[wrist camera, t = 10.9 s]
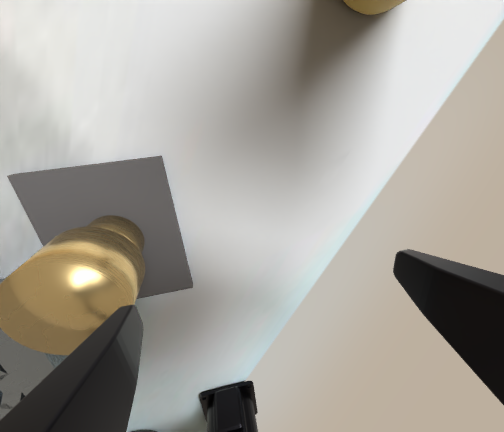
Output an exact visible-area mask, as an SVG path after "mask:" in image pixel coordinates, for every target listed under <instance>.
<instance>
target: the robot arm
mask: <svg viewBox="0 0 504 432" xmlns="http://www.w3.org/2000/svg"><path fill="white" fill-rule="evenodd" d="M393 273H394V275H395V277H396V279H397V280H398V281H399V283H400V284H401V285H402V287H403V288H404V289H405V291H406V292H407V294H408V295H409V296H410V297H411V299H412V300H413V302H414V303H415V304H416V306H417V307H418V308H419V310H420V311H421V312H422V313H423V315H424V316H425V317H426V318H427V319H428V321H430V323H431V324H432V325H433V326H434V327H435V328H436V329H437V331H438V332H439V333H440V334H441V335H442V336H443V337H444V339H445V340H446V341H447V342H448V343H449V344H450V345H451V346H452V348H453V349H454V350H455V351H456V352H457V353H458V354H459V355H460V357H461V358H462V359H463V360H464V361H465V362H466V363H467V365H468V366H469V367H470V368H471V369H472V370H473V371H474V372H475V374H477V376H478V377H479V378H480V379H481V380H482V381H483V383H484V384H485V385H486V386H487V387H488V388H489V389H490V390H491V392H492V393H493V394H494V395H495V396H496V397H497V398H498V399H499V401H500V402H501V403H502V404H503V405H504V275H501V274H497V273H493V272H490V271H487V270H483V269H479V268H476V267H472V266H468V265H465V264H461V263H458V262H454V261H450V260H447V259H443V258H439V257H436V256H432V255H428V254H425V253H421V252H417V251H414V250H410V249H407V250H403V251H399V252H397V254H396V257H395V263H394V268H393ZM142 337H143V324H142V321H141V318H140V316H139V313H138V310H137V308H136V306H135V305H127V306H122V307H120V308H118V309H117V310H116V311H115V312H114V313H113V314H112V315H111V316H110V317H109V318H108V319H107V320H105V321H104V322H103V323H102V324H101V325H100V326H99V327H98V328H97V329H96V330H95V331H94V332H93V333H92V334H91V335H90V336H89V337H87V338H86V339H85V340H84V341H83V342H82V343H81V344H80V345H79V346H78V347H77V348H76V349H75V350H74V351H73V352H72V353H71V354H69V355H68V356H67V357H66V358H65V359H64V360H63V361H62V362H61V363H60V364H59V365H58V366H57V367H56V368H55V369H54V370H53V371H52V372H50V373H49V374H48V375H47V376H46V377H45V378H44V379H43V380H42V381H41V382H40V383H39V384H38V385H37V386H36V387H35V388H34V389H32V390H31V391H30V392H29V393H28V394H27V395H26V396H25V397H24V398H23V399H22V400H21V401H20V402H19V403H18V404H17V405H16V406H14V407H13V408H12V409H11V410H10V411H9V412H8V413H7V414H6V415H5V416H4V417H3V418H2V419H1V420H0V432H126V430H127V425H128V421H129V417H130V412H131V408H132V403H133V399H134V394H135V390H136V385H137V378H138V371H139V362H140V354H141V345H142ZM200 401H201V404H202V408H203V411H204V414H205V418H206V421H207V432H258V429H257V423H256V418H255V414H257V406H256V399H255V392H254V386H253V382H252V381H246V382H242V383H238V384H235V385H231V386H227V387H223V388H219V389H215V390H211V391H207V392H203V393H201V394H200Z"/></svg>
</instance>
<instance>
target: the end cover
mask: <svg viewBox="0 0 504 432" xmlns="http://www.w3.org/2000/svg"><path fill="white" fill-rule="evenodd" d="M144 244H145V241H144V236H143V233H142V231H141V230H140V228H139V227H138V226H137V225H136V224H135V223H133V222H132V221H130V220H128V219H126V218H124V217H120V216H115V215H108V216H102V217H99V218H97V219H95V220H93V221H92V222H91V223H90V224H88V225H87V226H86V227H78V228H73V229H70V230H67V231H65V232H63V233H60V234H59V235H57V236H56V237H55V238H53V239H52V240H51V241H50V242H49V243H47V244H46V245H45V246H44V247H43V248H42V249H40V250H39V251H38V252H37V253H36V254H34V255H33V256H32V257H31V258H30V259H28V260H27V261H26V262H25V263H24V264H22V265H21V266H20V267H19V268H18V269H17V270H15V271H14V272H13V273H12V274H11V275H9V276H8V277H7V278H6V279H5V280H4V281H3V282H2V283H1V284H0V328H1V329H2V330H3V331H4V332H5V333H6V334H7V335H8V336H9V337H10V338H12V339H13V340H15V341H16V342H18V343H20V344H21V345H23V346H26V347H28V348H30V349H33V350H36V351H39V352H43V353H48V354H54V355H69V354H71V353H72V352H73V351H74V350H75V349H76V348H77V347H78V346H79V345H80V344H81V343H82V342H83V341H84V340H85V339H86V338H87V337H89V336H90V335H91V334H92V333H93V332H94V331H95V330H96V329H97V328H98V327H99V326H100V325H101V324H102V323H103V322H104V321H105V320H107V319H108V318H109V317H110V316H111V315H112V314H113V313H114V312H115V311H116V310H117V309H118V308H120V307H122V306H127V305H134V304H135V301H136V298H137V295H138V293H139V290H140V287H141V284H142V281H143V279H144V275H145V263H144V259H143V257H142V254H141V253H142V251H143V249H144Z"/></svg>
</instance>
